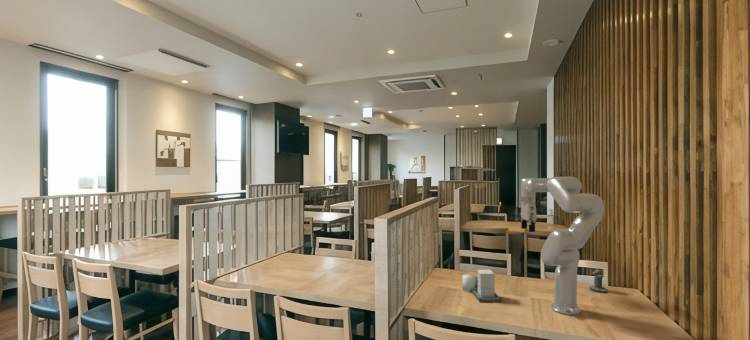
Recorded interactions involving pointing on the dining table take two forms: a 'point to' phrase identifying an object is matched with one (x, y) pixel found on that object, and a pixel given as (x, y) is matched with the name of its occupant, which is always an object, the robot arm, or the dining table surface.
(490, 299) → the slate tray
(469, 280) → the pale green rounded block
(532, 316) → the dining table surface
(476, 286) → the walnut block
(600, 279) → the figurine
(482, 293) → the supplement box
